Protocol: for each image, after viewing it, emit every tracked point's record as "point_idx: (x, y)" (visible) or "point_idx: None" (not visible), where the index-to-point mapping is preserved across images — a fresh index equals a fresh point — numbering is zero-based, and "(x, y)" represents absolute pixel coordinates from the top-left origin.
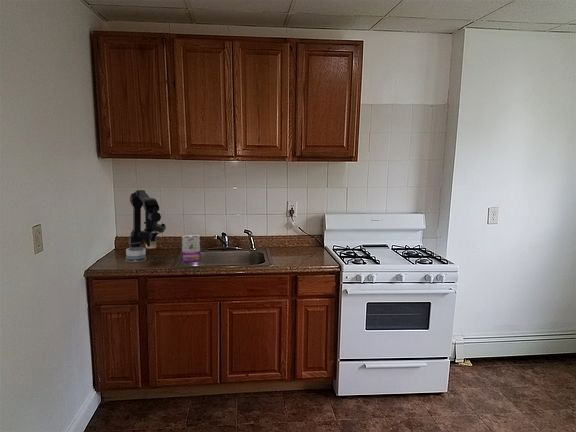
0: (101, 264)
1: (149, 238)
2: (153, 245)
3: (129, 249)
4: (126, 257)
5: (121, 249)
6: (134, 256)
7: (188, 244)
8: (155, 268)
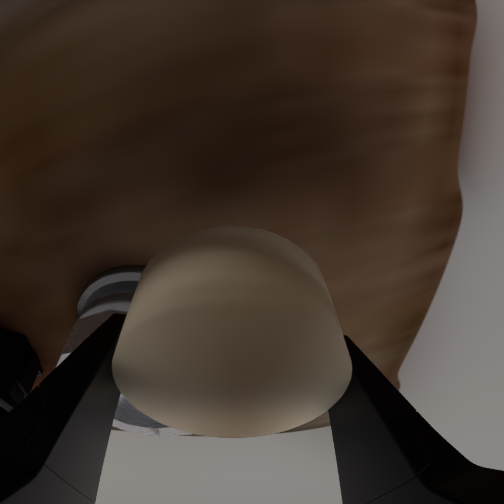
0: None
1: (476, 468)
2: (322, 295)
3: (140, 422)
4: None
5: None
6: None
7: None
8: (429, 116)
